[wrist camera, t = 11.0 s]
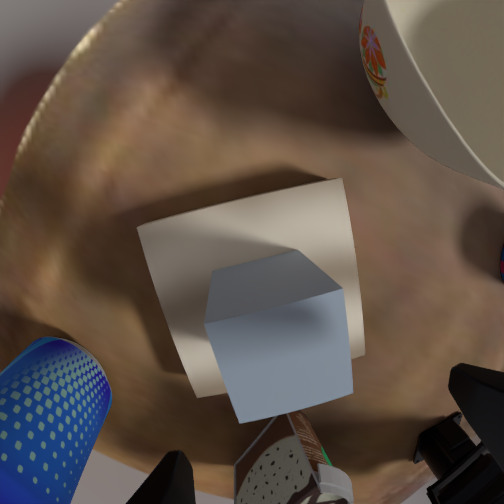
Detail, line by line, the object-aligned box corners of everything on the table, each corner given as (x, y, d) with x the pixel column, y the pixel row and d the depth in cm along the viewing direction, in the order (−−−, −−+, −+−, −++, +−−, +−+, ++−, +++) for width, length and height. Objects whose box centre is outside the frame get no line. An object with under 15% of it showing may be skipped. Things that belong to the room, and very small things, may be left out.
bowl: (334, -21, 15) (380, -94, 6) (479, 62, 18) (550, 38, 8) (293, 144, 18) (357, 103, 8) (465, 214, 20) (557, 233, 11)
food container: (279, 481, 25) (295, 555, 15) (227, 471, 24) (231, 552, 14) (350, 407, 23) (395, 488, 13) (293, 390, 22) (327, 487, 12)
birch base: (352, 338, 21) (365, 354, 19) (199, 378, 21) (197, 398, 19) (327, 178, 19) (341, 177, 16) (147, 222, 18) (136, 227, 16)
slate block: (312, 326, 18) (353, 392, 11) (234, 346, 18) (239, 423, 11) (298, 249, 17) (343, 288, 10) (212, 270, 17) (203, 323, 10)
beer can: (21, 358, 20) (-75, 466, 4) (62, 310, 19) (-74, 442, 4) (84, 422, 21) (27, 551, 6) (136, 387, 21) (77, 561, 5)
